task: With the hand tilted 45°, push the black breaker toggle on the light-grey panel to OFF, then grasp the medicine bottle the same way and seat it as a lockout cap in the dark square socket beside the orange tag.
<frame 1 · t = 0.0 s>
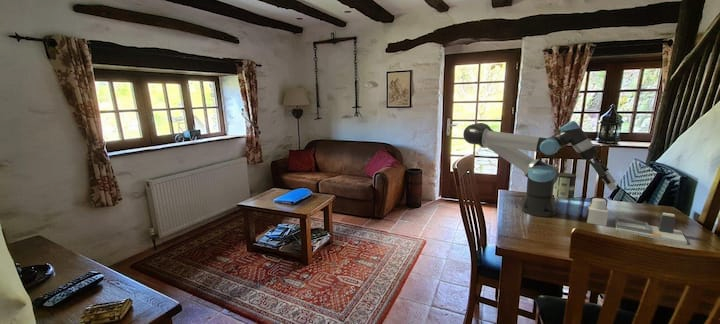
hand: (613, 186, 143), 15 cm above the table, tool tilted 35°, fingers open, 13 cm apart
breaker panel: (647, 232, 127), on the table
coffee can: (563, 197, 176), on the table
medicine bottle: (596, 222, 139), on the table
breaker toggle: (667, 222, 124), point 5 cm above the table, slide at 0.0 cm
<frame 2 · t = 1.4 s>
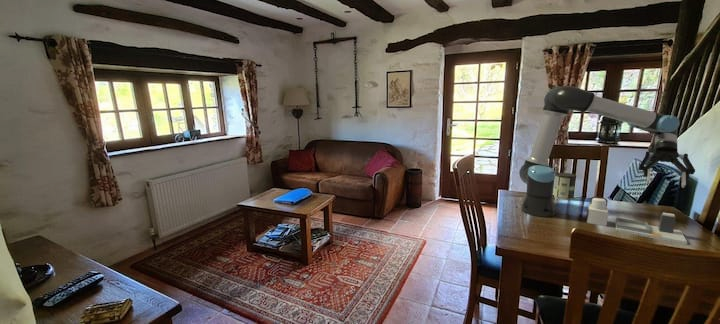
hand: (665, 184, 131), 19 cm above the table, tool tilted 45°, fingers open, 10 cm apart
nothing on the table moved.
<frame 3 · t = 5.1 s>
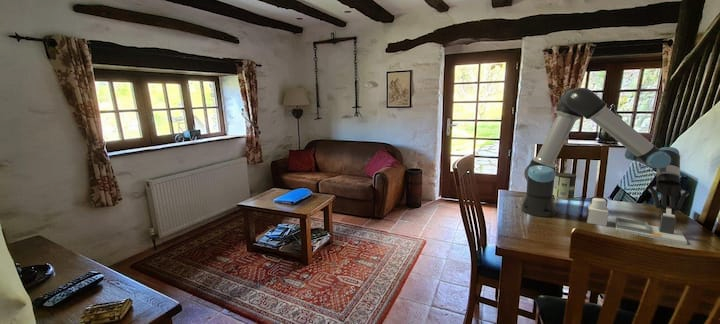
hand: (668, 223, 125), 4 cm above the table, tool tilted 45°, fingers closed
breaker toggle: (667, 223, 124), point 5 cm above the table, slide at 1.0 cm, touching gripper
everything else where it was.
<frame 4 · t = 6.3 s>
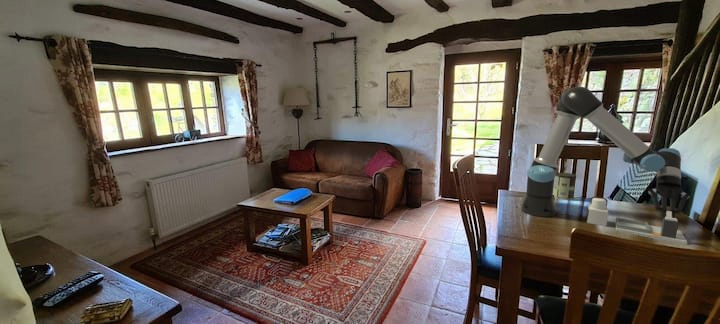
hand: (668, 226, 122), 5 cm above the table, tool tilted 45°, fingers closed
breaker toggle: (669, 227, 120), point 5 cm above the table, slide at 6.0 cm, touching gripper
everything else where it was.
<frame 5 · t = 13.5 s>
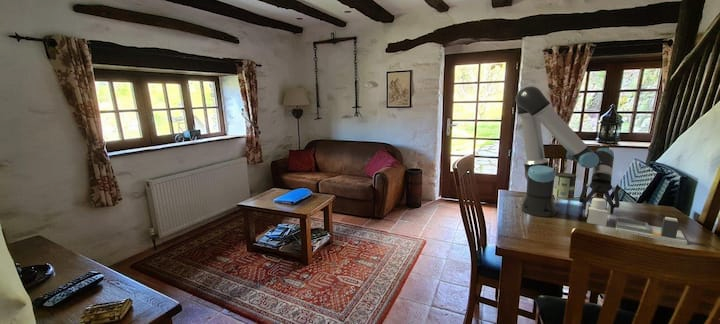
hand: (596, 217, 135), 4 cm above the table, tool tilted 45°, fingers closed on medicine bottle, 7 cm apart
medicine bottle: (595, 222, 139), on the table, touching gripper
breaker toggle: (669, 227, 120), point 5 cm above the table, slide at 6.2 cm
everything else where it was.
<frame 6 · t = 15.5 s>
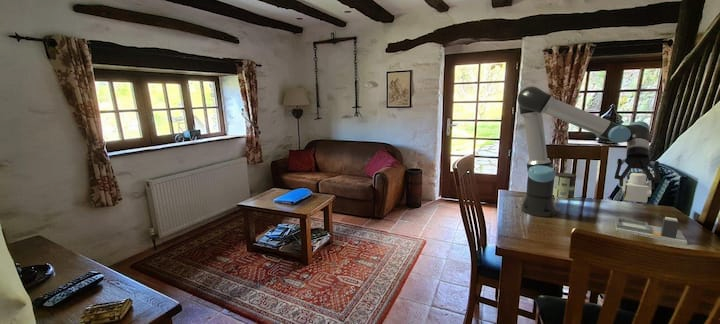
hand: (636, 193, 125), 17 cm above the table, tool tilted 45°, fingers closed on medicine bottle, 7 cm apart
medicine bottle: (634, 199, 128), point 13 cm above the table, touching gripper
everything else where it was.
when the fingers open (6 cm above the table, at t = 17.9 s): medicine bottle drops 1 cm, resting on breaker panel.
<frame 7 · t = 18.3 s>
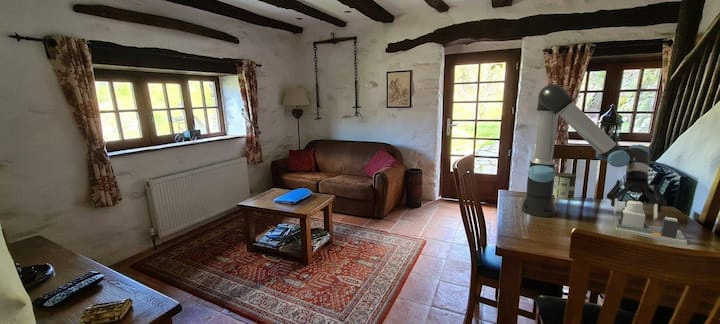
hand: (634, 215, 127), 7 cm above the table, tool tilted 45°, fingers open, 12 cm apart
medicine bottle: (631, 227, 130), point 1 cm above the table, touching breaker panel
everything else where it was.
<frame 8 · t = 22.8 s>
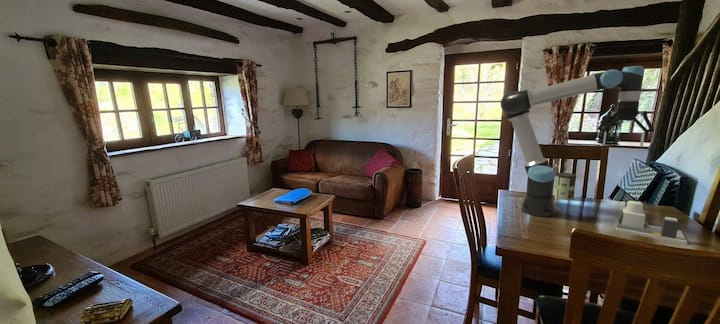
hand: (621, 145, 142), 35 cm above the table, tool pointing down, fingers open, 13 cm apart
nothing on the table moved.
at the end: breaker toggle slide at 6.2 cm; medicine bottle inside the target area (0.1 cm from its centre), point 1.0 cm above the table; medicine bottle tilted 0° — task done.
